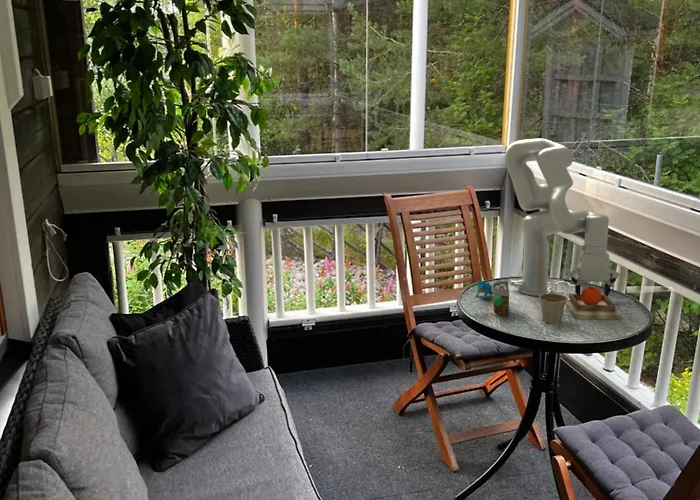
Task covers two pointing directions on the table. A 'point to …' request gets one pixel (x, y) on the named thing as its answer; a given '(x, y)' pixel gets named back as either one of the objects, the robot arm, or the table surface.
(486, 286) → the toy dinosaur
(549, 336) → the table surface
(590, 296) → the clementine
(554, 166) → the robot arm
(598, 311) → the board
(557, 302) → the flower pot
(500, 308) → the food container
